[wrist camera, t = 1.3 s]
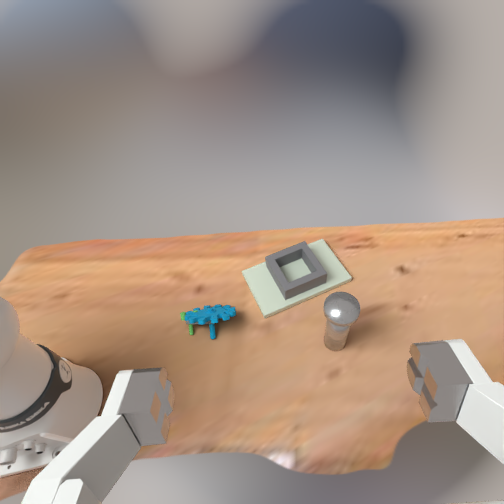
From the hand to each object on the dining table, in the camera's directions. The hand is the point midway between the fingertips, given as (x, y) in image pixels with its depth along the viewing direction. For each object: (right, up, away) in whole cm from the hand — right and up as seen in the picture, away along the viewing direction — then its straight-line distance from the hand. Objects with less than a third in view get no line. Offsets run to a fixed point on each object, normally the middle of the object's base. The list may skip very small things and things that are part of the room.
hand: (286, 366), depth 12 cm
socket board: (+8, -2, +63) cm, 64 cm away
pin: (+14, -13, +54) cm, 57 cm away
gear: (-9, -11, +59) cm, 61 cm away
